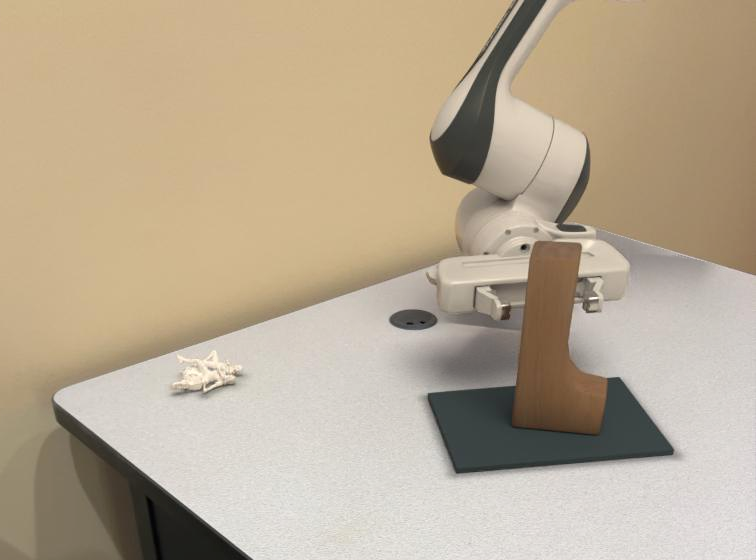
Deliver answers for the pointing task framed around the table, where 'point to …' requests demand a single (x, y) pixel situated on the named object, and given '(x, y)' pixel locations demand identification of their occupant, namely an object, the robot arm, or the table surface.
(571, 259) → the wooden block
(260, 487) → the table surface
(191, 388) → the figurine
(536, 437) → the mat
